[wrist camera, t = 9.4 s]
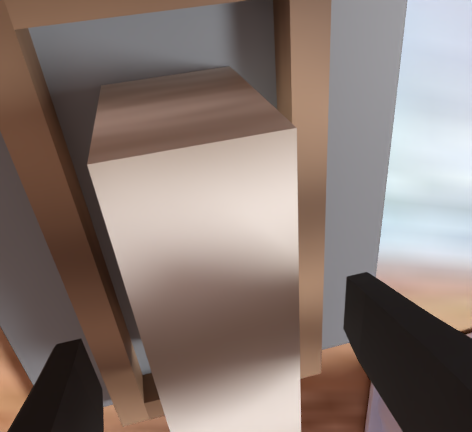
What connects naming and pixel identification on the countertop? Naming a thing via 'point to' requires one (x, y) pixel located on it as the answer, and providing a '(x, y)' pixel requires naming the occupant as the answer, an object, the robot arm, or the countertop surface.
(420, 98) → the countertop surface
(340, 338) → the jig board
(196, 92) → the block
